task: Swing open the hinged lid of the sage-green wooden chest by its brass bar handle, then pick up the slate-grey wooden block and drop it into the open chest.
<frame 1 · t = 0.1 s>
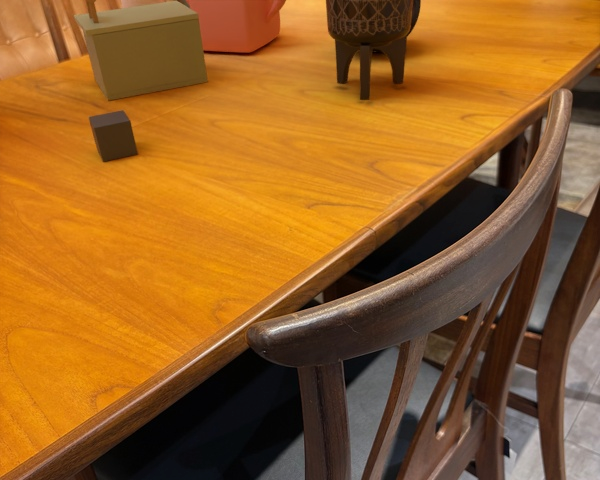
lid: (131, 1, 97), point 13 cm above the table, hinge at 0.0°
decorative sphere: (376, 51, 112), on the table
chest: (150, 81, 104), on the table
planter: (368, 88, 95), on the table
mug: (152, 49, 122), on the table
block: (117, 152, 80), on the table
teapot: (244, 42, 123), on the table
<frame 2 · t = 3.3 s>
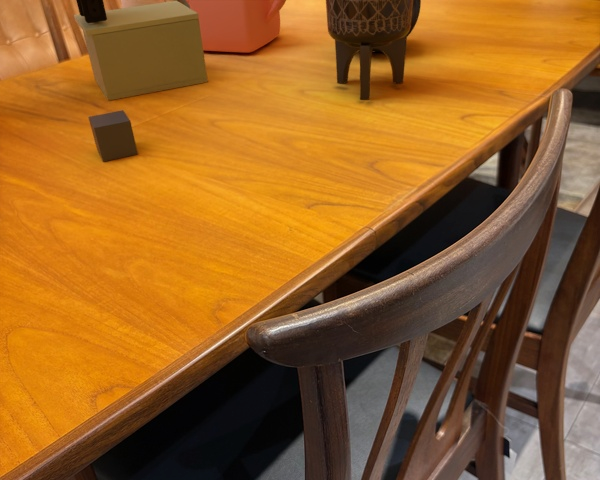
hand: (93, 16, 96), 11 cm above the table, tool pointing down, fingers closed on lid, 5 cm apart
lid: (131, 1, 97), point 13 cm above the table, hinge at 0.0°, touching gripper
everything else where it was.
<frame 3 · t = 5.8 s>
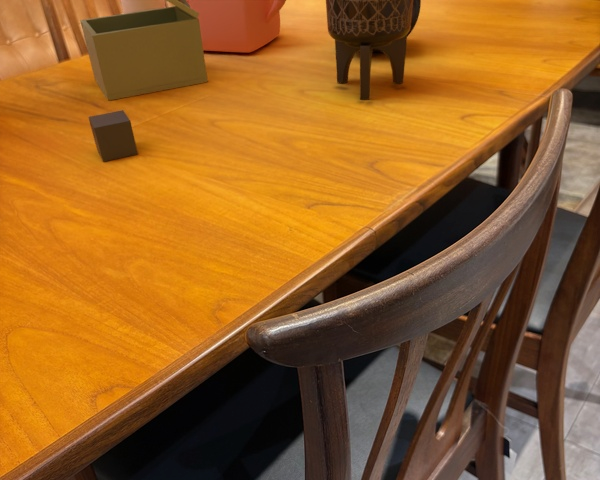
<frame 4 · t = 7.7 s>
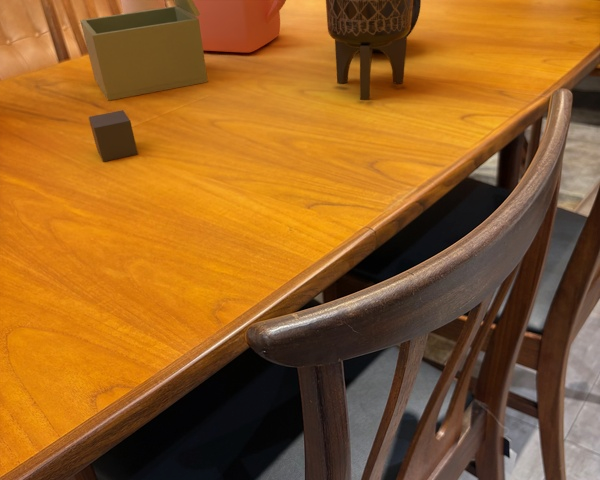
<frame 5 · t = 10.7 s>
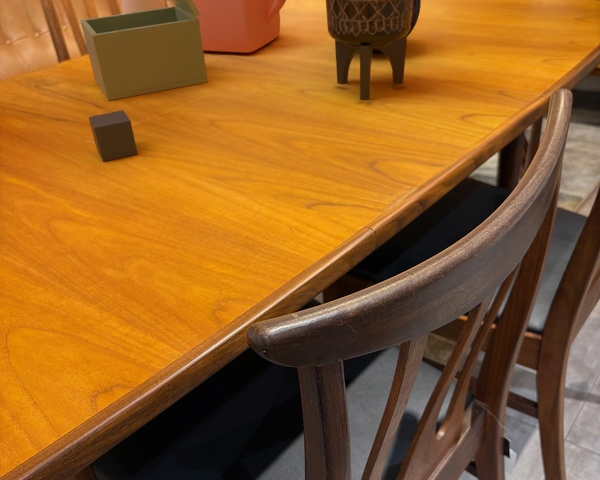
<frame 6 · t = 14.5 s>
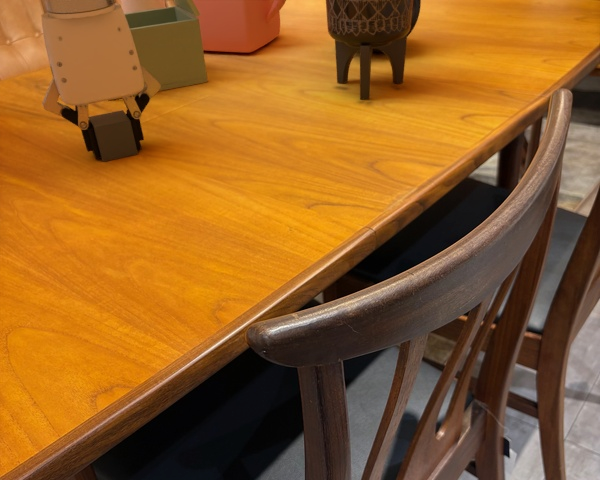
hand: (116, 149, 80), 0 cm above the table, tool pointing down, fingers closed on block, 4 cm apart
block: (117, 152, 80), on the table, touching gripper
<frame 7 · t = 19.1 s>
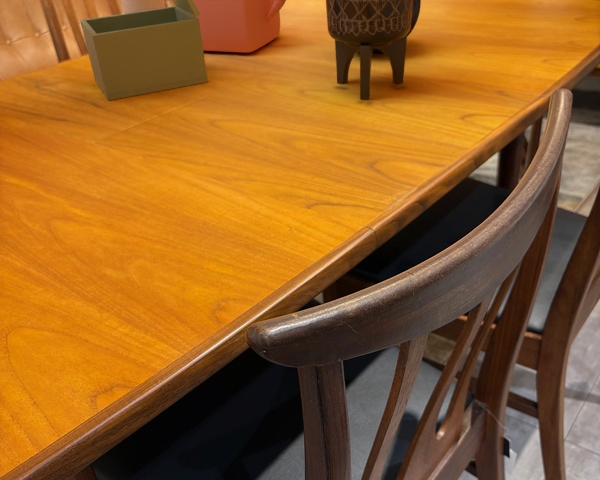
when the fingers open (9 cm above the table, at t = 22.3 s): block drops 8 cm, resting on chest.
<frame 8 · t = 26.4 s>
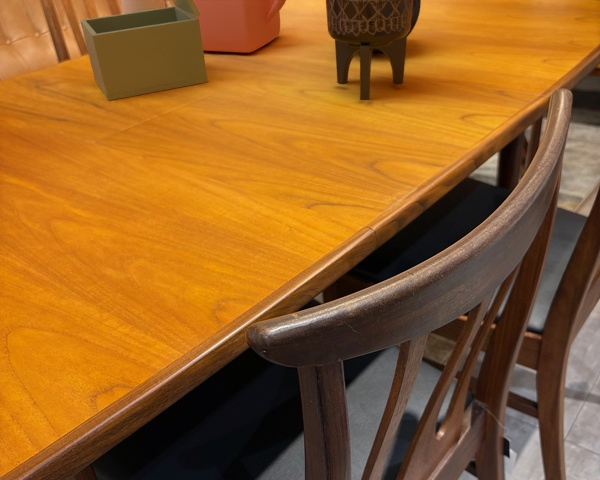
block: (131, 79, 103), point 1 cm above the table, touching chest
at the end: lid at +69° (first picture: +0°); block inside the target area in the chest (3.1 cm from its centre), point 0.8 cm above the chest's base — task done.
